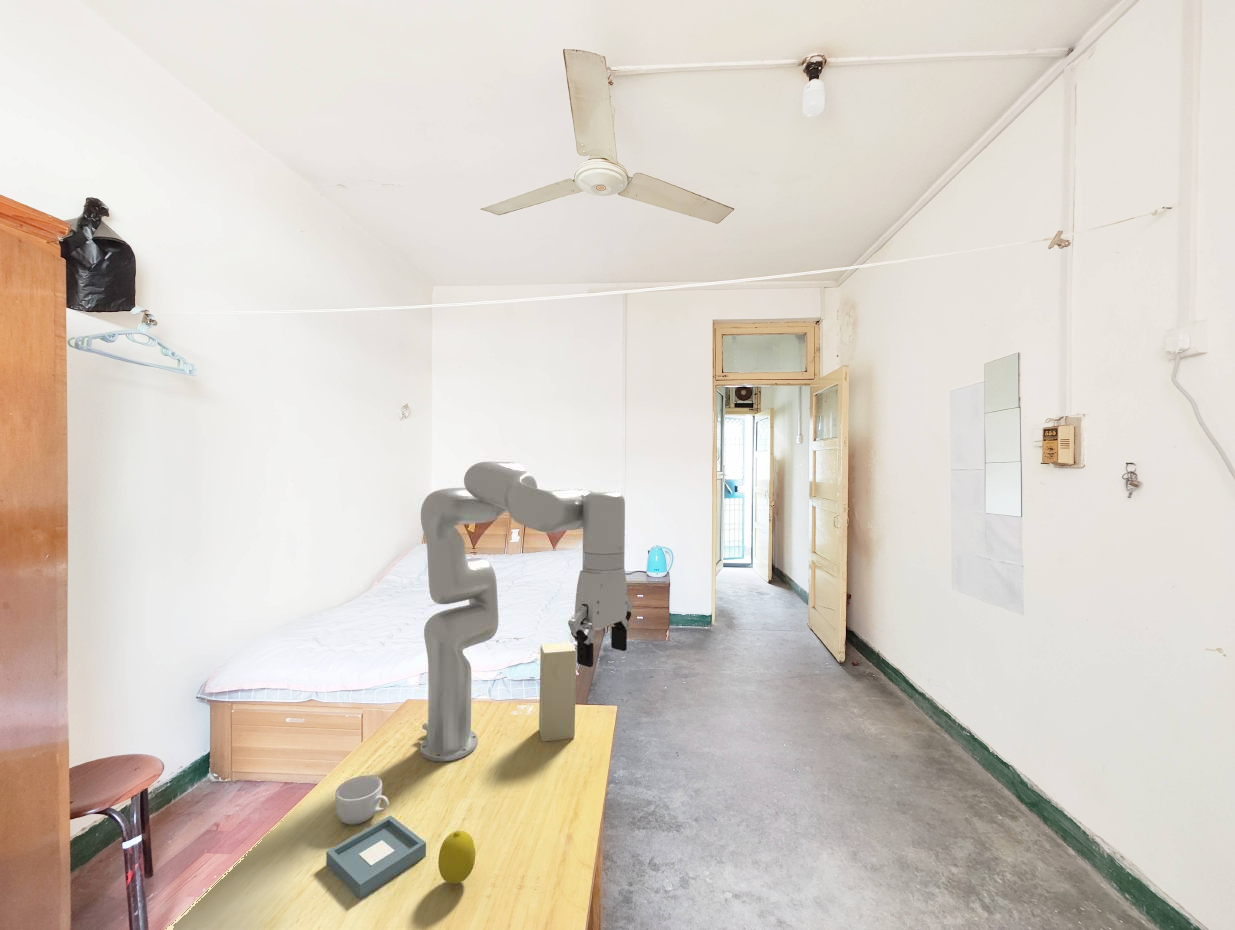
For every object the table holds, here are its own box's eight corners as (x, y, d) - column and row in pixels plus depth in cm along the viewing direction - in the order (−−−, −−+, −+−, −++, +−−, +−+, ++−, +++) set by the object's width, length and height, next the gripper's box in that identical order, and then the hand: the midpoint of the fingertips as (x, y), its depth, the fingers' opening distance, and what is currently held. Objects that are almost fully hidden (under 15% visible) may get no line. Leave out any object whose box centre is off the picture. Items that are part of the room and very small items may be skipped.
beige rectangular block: (570, 723, 131) (570, 640, 131) (575, 738, 124) (576, 650, 124) (538, 727, 129) (539, 643, 129) (542, 742, 122) (543, 653, 122)
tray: (326, 864, 84) (326, 851, 84) (390, 827, 93) (390, 815, 93) (360, 899, 77) (360, 884, 77) (425, 855, 86) (426, 842, 86)
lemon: (443, 870, 83) (443, 820, 83) (478, 868, 84) (478, 818, 84) (433, 898, 78) (434, 845, 78) (471, 896, 78) (472, 843, 78)
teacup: (324, 827, 93) (325, 797, 93) (355, 800, 100) (355, 772, 100) (373, 836, 91) (373, 805, 91) (400, 808, 98) (401, 779, 98)
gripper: (615, 552, 102) (615, 639, 102) (554, 565, 88) (553, 666, 88) (647, 557, 97) (646, 648, 97) (588, 571, 83) (587, 677, 83)
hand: (602, 656), depth 93 cm, fingers open, 9 cm apart
